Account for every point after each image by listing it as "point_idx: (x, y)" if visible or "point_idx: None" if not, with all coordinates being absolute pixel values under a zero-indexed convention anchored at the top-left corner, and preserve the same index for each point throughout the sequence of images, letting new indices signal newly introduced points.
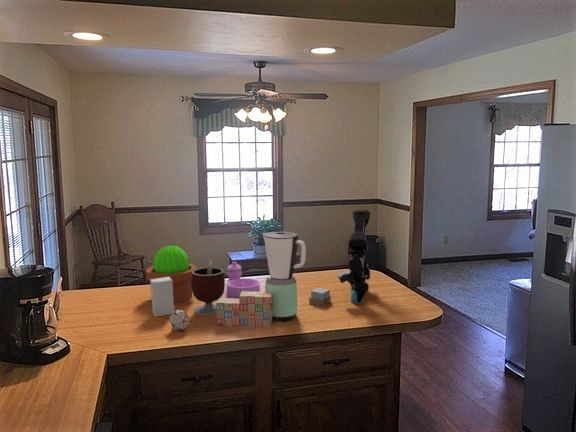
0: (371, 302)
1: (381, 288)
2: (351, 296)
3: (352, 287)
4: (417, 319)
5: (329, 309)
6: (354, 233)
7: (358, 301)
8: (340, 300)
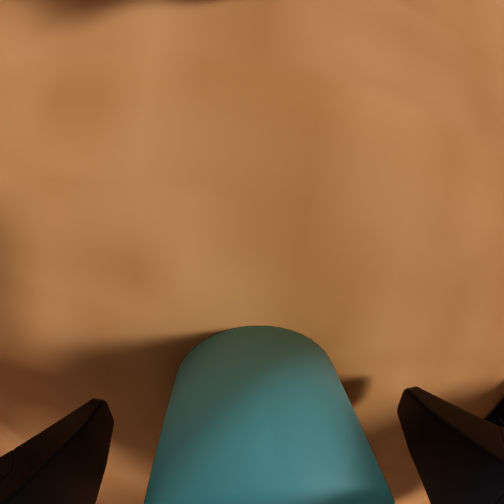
0: None
1: None
2: (239, 393)
3: (487, 469)
4: None
5: (5, 10)
6: None
7: (84, 415)
8: (355, 160)
